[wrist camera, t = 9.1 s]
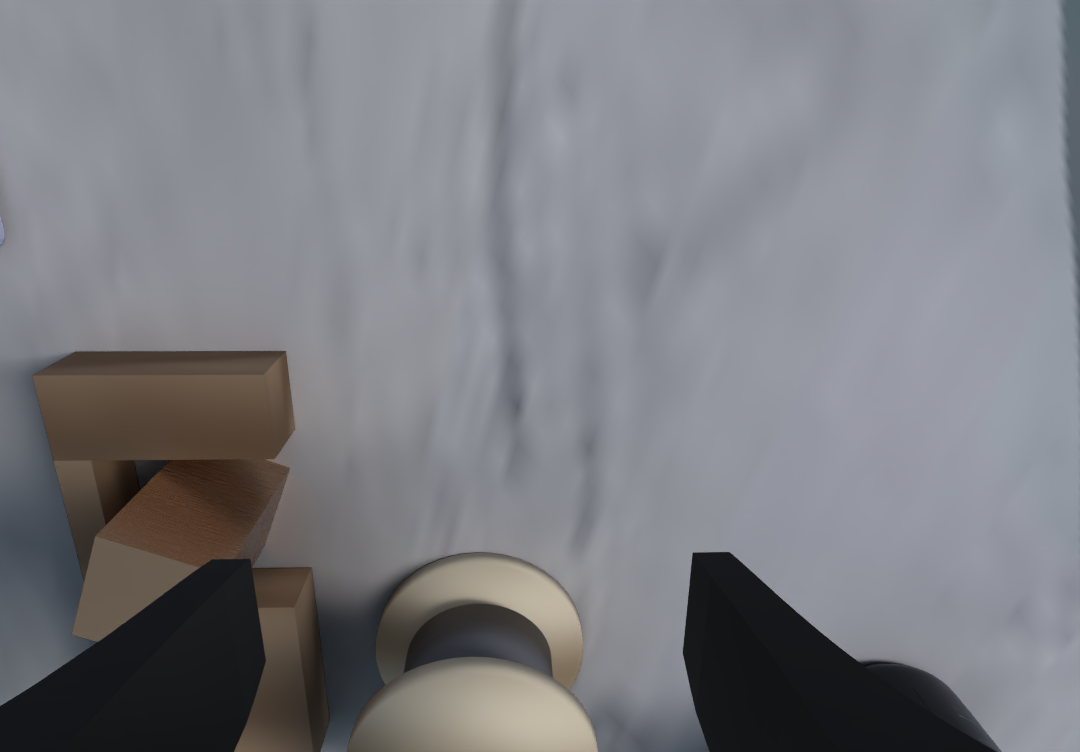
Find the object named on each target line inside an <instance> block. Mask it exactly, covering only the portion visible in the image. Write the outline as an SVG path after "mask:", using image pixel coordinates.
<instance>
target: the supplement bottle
mask: <svg viewBox="0 0 1080 752" xmlns="http://www.w3.org/2000/svg"><path fill="white" fill-rule="evenodd" d="M864 667H866V668H867V669H868V670H869V671H871V672H872V673H873V674H875V675H876V676H878V677H879V678H880V679H882V680H883V681H885V682H886V683H887V684H889V685H890V686H892V687H893V688H895V689H896V690H898V691H899V692H901V693H902V694H904V695H905V696H907V697H908V698H910V699H911V700H913V701H914V702H916V703H917V704H919V705H920V706H922V707H923V708H925V709H926V710H928V711H929V712H931V713H932V714H934V715H935V716H937V717H939V718H940V719H942V720H943V721H945V722H947V723H948V724H950V725H952V726H953V727H955V728H957V729H958V730H960V731H962V732H963V733H965V734H967V735H968V736H970V737H972V738H974V739H975V740H977V741H979V742H981V743H982V744H984V745H986V746H988V747H990V748H991V749H993V750H995V751H997V752H1002V751H1001V750H1000V749H999V748H998V746H997V745H996V744H995V743H994V741H993V740H992V739H991V738H990V736H989V735H988V734H987V733H986V731H985V730H984V729H983V727H982V726H981V725H980V724H979V722H978V721H977V720H976V719H975V717H974V716H973V715H972V714H971V712H970V711H969V710H968V709H967V708H966V706H965V705H964V704H963V703H962V702H961V700H960V699H959V698H958V697H957V695H956V694H955V693H954V692H953V691H952V690H951V689H950V688H949V687H948V686H947V685H946V684H945V683H943V682H942V681H941V680H939V679H938V678H936V677H935V676H933V675H932V674H929V673H927V672H925V671H923V670H920V669H917V668H914V667H910V666H906V665H899V664H873V665H867V666H864Z"/></svg>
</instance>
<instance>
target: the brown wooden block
mask: <svg viewBox="0 0 1080 752" xmlns="http://www.w3.org/2000/svg"><path fill="white" fill-rule="evenodd" d="M289 470H290V468H289V467H286V466H283V465H280V464H276V463H273V462H270V461H267V460H264V459H219V460H170V461H169V462H168V463H167V464H166V465H165V466H164V467H163V468H162V469H161V470H160V471H159V472H158V473H157V474H156V475H155V476H154V477H153V478H152V479H151V480H150V481H149V482H148V483H147V484H146V485H145V486H144V487H143V488H142V489H141V490H140V491H139V492H138V493H137V494H136V495H135V496H134V497H133V498H132V499H131V500H130V501H129V502H128V503H127V504H126V505H125V507H124V508H123V509H122V510H121V511H120V512H119V513H118V514H117V515H116V516H115V517H114V518H113V519H112V520H111V521H110V522H109V523H108V524H107V525H106V526H105V527H104V528H103V529H102V530H101V531H100V532H99V533H98V534H97V535H96V536H95V539H94V543H93V548H92V552H91V556H90V560H89V564H88V569H87V573H86V577H85V581H84V585H83V590H82V594H81V598H80V602H79V606H78V610H77V615H76V619H75V623H74V627H73V631H72V635H75V636H78V637H82V638H85V639H89V640H93V641H96V642H99V641H100V640H101V639H103V638H104V637H106V636H107V635H108V634H110V633H111V632H113V631H114V630H115V629H117V628H118V627H119V626H121V625H122V624H123V623H125V622H126V621H128V620H129V619H130V618H132V617H133V616H134V615H136V614H137V613H139V612H140V611H141V610H143V609H144V608H145V607H147V606H148V605H149V604H151V603H152V602H153V601H155V600H156V599H157V598H159V597H160V596H162V595H163V594H164V593H166V592H167V591H168V590H170V589H171V588H172V587H174V586H175V585H176V584H178V583H179V582H180V581H182V580H183V579H184V578H186V577H187V576H189V575H190V574H191V573H193V572H194V571H195V570H197V569H198V568H200V567H201V566H203V565H204V564H206V563H207V562H209V561H210V560H212V559H250V560H251V566H252V567H253V565H254V563H255V561H256V560H257V558H258V556H259V554H260V553H261V551H262V549H263V547H264V546H265V543H266V540H267V537H268V534H269V531H270V528H271V525H272V522H273V519H274V516H275V513H276V510H277V507H278V504H279V501H280V498H281V495H282V491H283V488H284V485H285V482H286V479H287V476H288V473H289Z"/></svg>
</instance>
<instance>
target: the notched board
mask: <svg viewBox="0 0 1080 752" xmlns="http://www.w3.org/2000/svg"><path fill="white" fill-rule="evenodd" d="M32 377H33V381H34V385H35V389H36V393H37V397H38V401H39V405H40V409H41V413H42V417H43V421H44V425H45V429H46V433H47V437H48V441H49V445H50V449H51V453H52V457H53V461H54V465H55V469H56V473H57V477H58V481H59V485H60V489H61V493H62V496H63V500H64V504H65V508H66V512H67V516H68V520H69V524H70V528H71V532H72V536H73V540H74V544H75V548H76V552H77V556H78V560H79V564H80V568H81V572H82V576H83V580H84V581H85V577H86V573H87V569H88V564H89V560H90V556H91V552H92V548H93V543H94V539H95V536H96V535H97V534H98V533H99V532H100V531H101V530H102V529H103V528H104V527H105V526H106V525H107V524H108V523H109V522H110V521H111V520H112V519H113V518H114V517H115V516H116V515H117V514H118V513H119V512H120V511H121V510H122V509H123V508H124V507H125V505H126V504H127V503H128V502H129V501H130V500H131V499H132V498H133V497H134V496H135V495H136V494H137V493H138V492H139V491H140V488H139V483H138V479H137V474H136V469H135V464H134V460H219V459H275V458H276V456H277V455H278V453H279V452H280V451H281V449H282V448H283V446H284V445H285V443H286V442H287V440H288V439H289V437H290V436H291V434H292V433H293V432H294V430H295V424H294V416H293V408H292V399H291V391H290V382H289V374H288V366H287V357H286V351H190V352H74V353H73V354H71V355H69V356H67V357H65V358H63V359H62V360H60V361H58V362H56V363H54V364H52V365H51V366H49V367H47V368H45V369H43V370H41V371H40V372H38V373H36V374H34V375H32ZM252 573H253V579H254V586H255V592H256V599H257V605H258V612H259V618H260V625H261V631H262V638H263V645H264V651H265V658H266V663H265V666H264V669H263V673H262V676H261V680H260V683H259V686H258V690H257V693H256V696H255V699H254V703H253V706H252V709H251V712H250V715H249V718H248V721H247V723H246V726H245V728H244V730H243V733H242V735H241V737H240V740H239V742H238V744H237V746H236V748H235V751H234V752H320V751H321V748H322V744H323V741H324V738H325V734H326V731H327V728H328V724H329V721H330V718H329V710H328V702H327V693H326V685H325V676H324V668H323V660H322V651H321V643H320V634H319V626H318V618H317V609H316V601H315V592H314V584H313V576H312V568H263V569H252Z"/></svg>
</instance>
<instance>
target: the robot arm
mask: <svg viewBox="0 0 1080 752" xmlns="http://www.w3.org/2000/svg"><path fill="white" fill-rule="evenodd" d="M3 240H4V228H3V224H2V220H1V216H0V245H1V244H2V242H3ZM683 656H684V660H685V665H686V670H687V675H688V679H689V684H690V688H691V693H692V697H693V701H694V705H695V710H696V713H697V716H698V719H699V722H700V725H701V728H702V731H703V734H704V737H705V739H706V742H707V745H708V748H709V751H710V752H997V751H995V750H993V749H991V748H990V747H988V746H986V745H984V744H982V743H981V742H979V741H977V740H975V739H974V738H972V737H970V736H968V735H967V734H965V733H963V732H962V731H960V730H958V729H957V728H955V727H953V726H952V725H950V724H948V723H947V722H945V721H943V720H942V719H940V718H939V717H937V716H935V715H934V714H932V713H931V712H929V711H928V710H926V709H925V708H923V707H922V706H920V705H919V704H917V703H916V702H914V701H913V700H911V699H910V698H908V697H907V696H905V695H904V694H902V693H901V692H899V691H898V690H896V689H895V688H893V687H892V686H890V685H889V684H887V683H886V682H885V681H883V680H882V679H880V678H879V677H878V676H876V675H875V674H873V673H872V672H871V671H869V670H868V669H867V668H866V667H864V666H863V665H862V664H860V663H859V662H858V661H856V660H855V659H854V658H852V657H851V656H850V655H848V654H847V653H846V652H845V651H843V650H842V649H841V648H839V647H838V646H837V645H836V644H834V643H833V642H832V641H831V640H829V639H828V638H827V637H826V636H824V635H823V634H822V633H821V632H820V631H818V630H817V629H816V628H815V627H814V626H812V625H811V624H810V623H809V622H808V621H806V620H805V619H804V618H803V617H802V616H801V615H799V614H798V613H797V612H796V611H795V610H794V609H793V608H791V607H790V606H789V605H788V604H787V603H786V602H785V601H783V600H782V599H781V598H780V597H779V596H778V595H777V594H776V593H775V592H773V591H772V590H771V589H770V588H769V587H768V586H767V585H766V584H765V583H763V582H762V581H761V580H760V579H759V578H758V577H757V576H756V575H755V574H754V573H752V572H751V571H750V570H749V569H748V568H747V567H746V566H745V565H744V564H743V563H741V562H740V561H739V560H738V559H737V558H736V557H734V556H733V555H732V554H731V553H730V552H707V553H693V556H692V566H691V576H690V586H689V596H688V606H687V616H686V626H685V637H684V647H683ZM265 663H266V658H265V651H264V645H263V638H262V631H261V625H260V618H259V612H258V605H257V599H256V592H255V586H254V579H253V573H252V566H251V560H250V559H212V560H210V561H209V562H207V563H206V564H204V565H203V566H201V567H200V568H198V569H197V570H195V571H194V572H193V573H191V574H190V575H189V576H187V577H186V578H184V579H183V580H182V581H180V582H179V583H178V584H176V585H175V586H174V587H172V588H171V589H170V590H168V591H167V592H166V593H164V594H163V595H162V596H160V597H159V598H157V599H156V600H155V601H153V602H152V603H151V604H149V605H148V606H147V607H145V608H144V609H143V610H141V611H140V612H139V613H137V614H136V615H134V616H133V617H132V618H130V619H129V620H128V621H126V622H125V623H123V624H122V625H121V626H119V627H118V628H117V629H115V630H114V631H113V632H111V633H110V634H108V635H107V636H106V637H104V638H103V639H101V640H100V641H99V642H97V643H96V644H94V645H93V646H91V647H90V648H88V649H87V650H85V651H84V652H82V653H81V654H79V655H78V656H76V657H75V658H74V659H72V660H71V661H69V662H68V663H66V664H65V665H63V666H62V667H60V668H59V669H57V670H56V671H54V672H53V673H51V674H50V675H48V676H47V677H46V678H44V679H43V680H41V681H40V682H38V683H37V684H35V685H33V686H32V687H30V688H29V689H27V690H26V691H24V692H22V693H21V694H19V695H18V696H16V697H14V698H13V699H11V700H10V701H8V702H6V703H5V704H3V705H1V706H0V752H234V751H235V748H236V746H237V744H238V742H239V740H240V737H241V735H242V733H243V730H244V728H245V726H246V723H247V721H248V718H249V715H250V712H251V709H252V706H253V703H254V699H255V696H256V693H257V690H258V686H259V683H260V680H261V676H262V673H263V669H264V666H265Z"/></svg>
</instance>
